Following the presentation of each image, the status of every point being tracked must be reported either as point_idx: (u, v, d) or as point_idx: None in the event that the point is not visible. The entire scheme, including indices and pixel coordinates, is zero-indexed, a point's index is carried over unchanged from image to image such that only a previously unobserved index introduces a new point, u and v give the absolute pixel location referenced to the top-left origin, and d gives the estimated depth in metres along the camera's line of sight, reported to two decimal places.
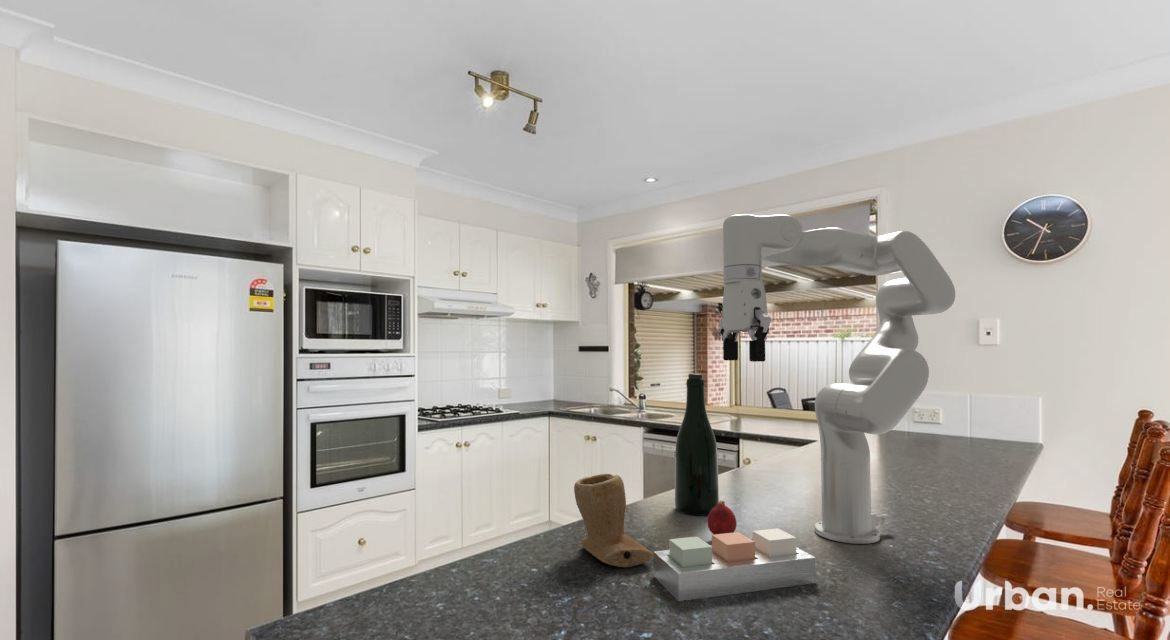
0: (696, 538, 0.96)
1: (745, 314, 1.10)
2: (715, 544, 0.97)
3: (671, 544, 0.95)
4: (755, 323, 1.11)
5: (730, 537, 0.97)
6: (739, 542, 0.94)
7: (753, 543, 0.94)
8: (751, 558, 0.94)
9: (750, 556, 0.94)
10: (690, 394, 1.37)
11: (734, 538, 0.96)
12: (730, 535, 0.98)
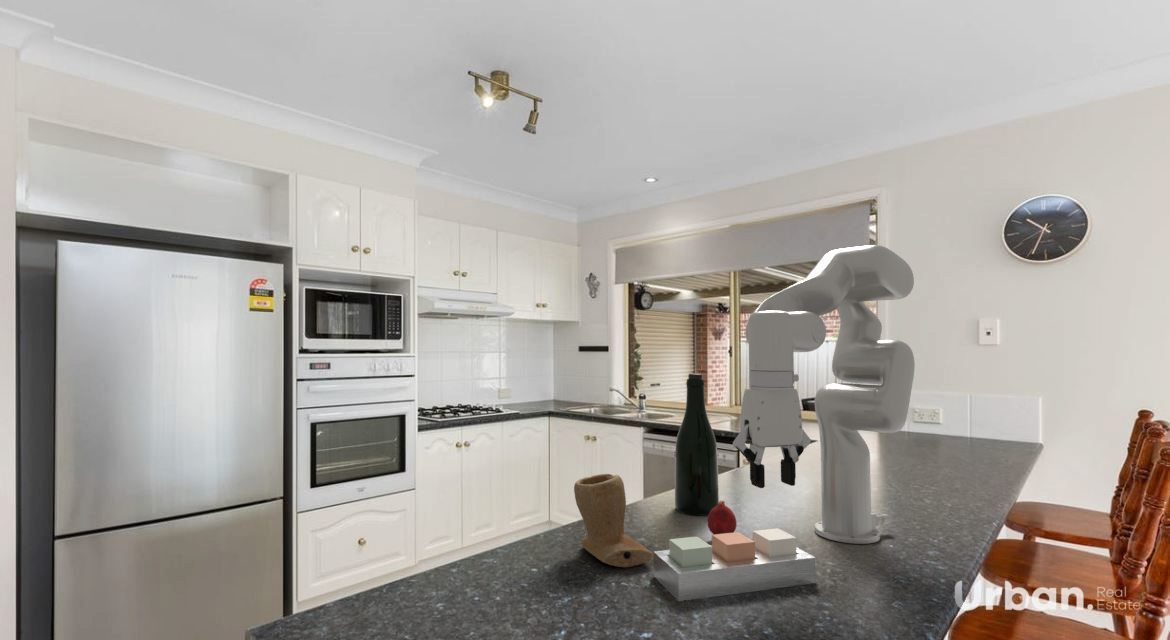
0: (696, 538, 0.96)
1: (800, 427, 0.98)
2: (715, 544, 0.97)
3: (671, 544, 0.95)
4: None
5: (730, 537, 0.97)
6: (739, 542, 0.94)
7: (753, 543, 0.94)
8: (751, 558, 0.94)
9: (750, 556, 0.94)
10: (690, 394, 1.37)
11: (734, 538, 0.96)
12: (730, 535, 0.98)
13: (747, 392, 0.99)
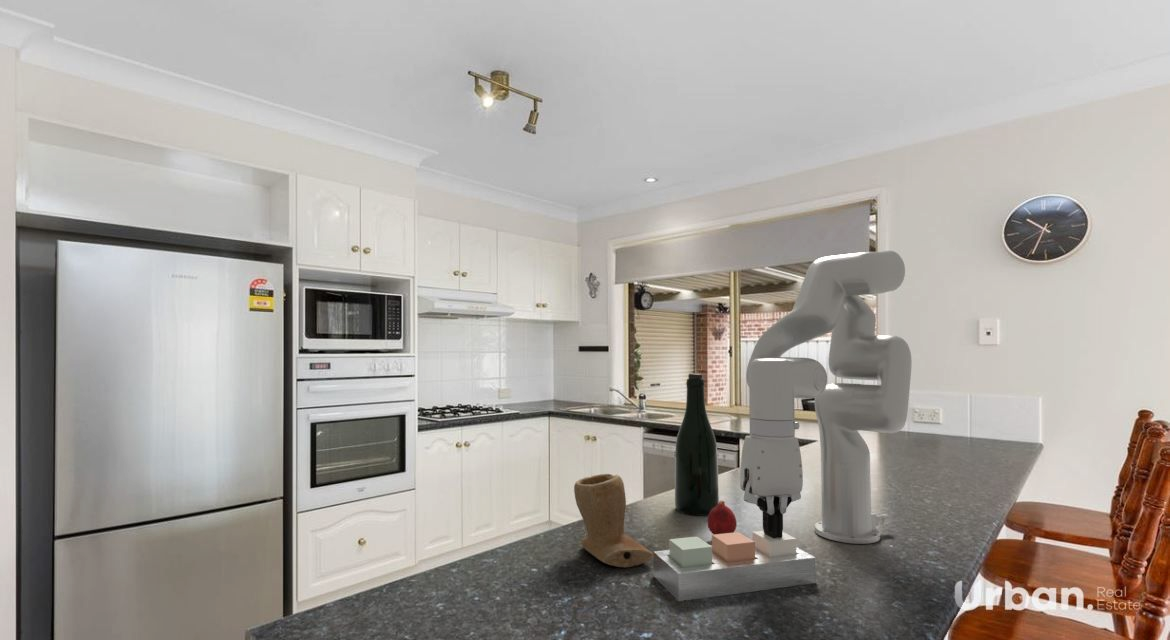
0: (696, 538, 0.96)
1: (800, 476, 0.98)
2: (715, 544, 0.97)
3: (671, 544, 0.95)
4: None
5: (730, 537, 0.97)
6: (739, 542, 0.94)
7: (753, 543, 0.94)
8: (751, 558, 0.94)
9: (750, 556, 0.94)
10: (690, 394, 1.37)
11: (734, 538, 0.96)
12: (730, 535, 0.98)
13: (748, 440, 0.98)
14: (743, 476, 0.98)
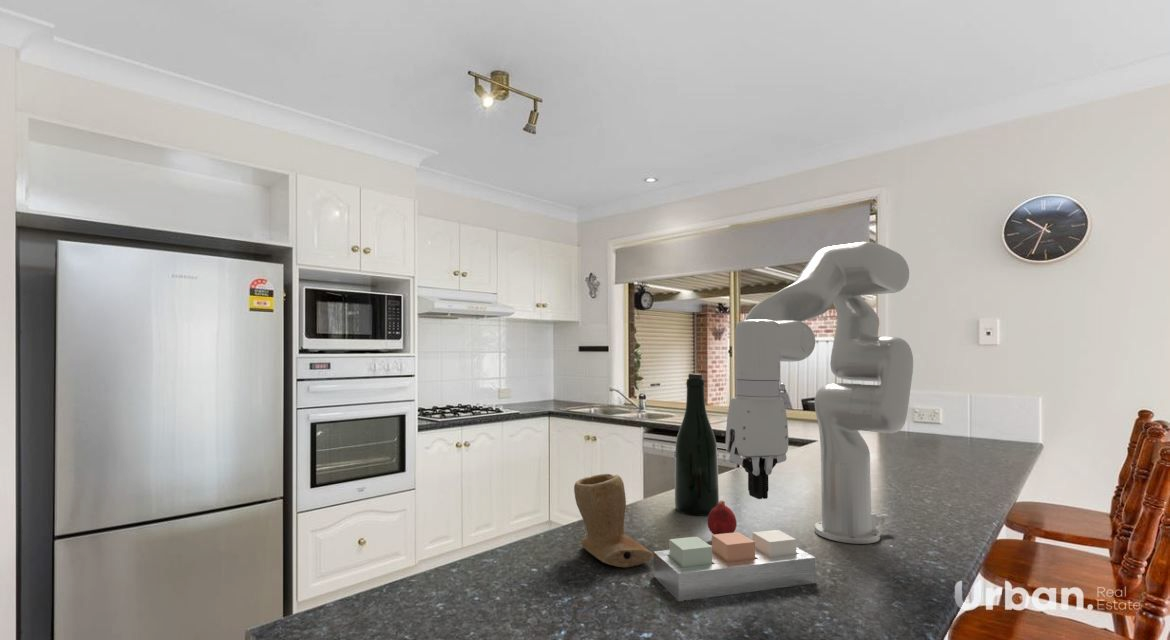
0: (696, 538, 0.96)
1: (786, 437, 0.97)
2: (715, 544, 0.97)
3: (671, 544, 0.95)
4: None
5: (730, 537, 0.97)
6: (739, 542, 0.94)
7: (753, 543, 0.94)
8: (751, 558, 0.94)
9: (750, 556, 0.94)
10: (690, 394, 1.37)
11: (734, 538, 0.96)
12: (730, 535, 0.98)
13: (733, 401, 0.98)
14: (729, 437, 0.98)
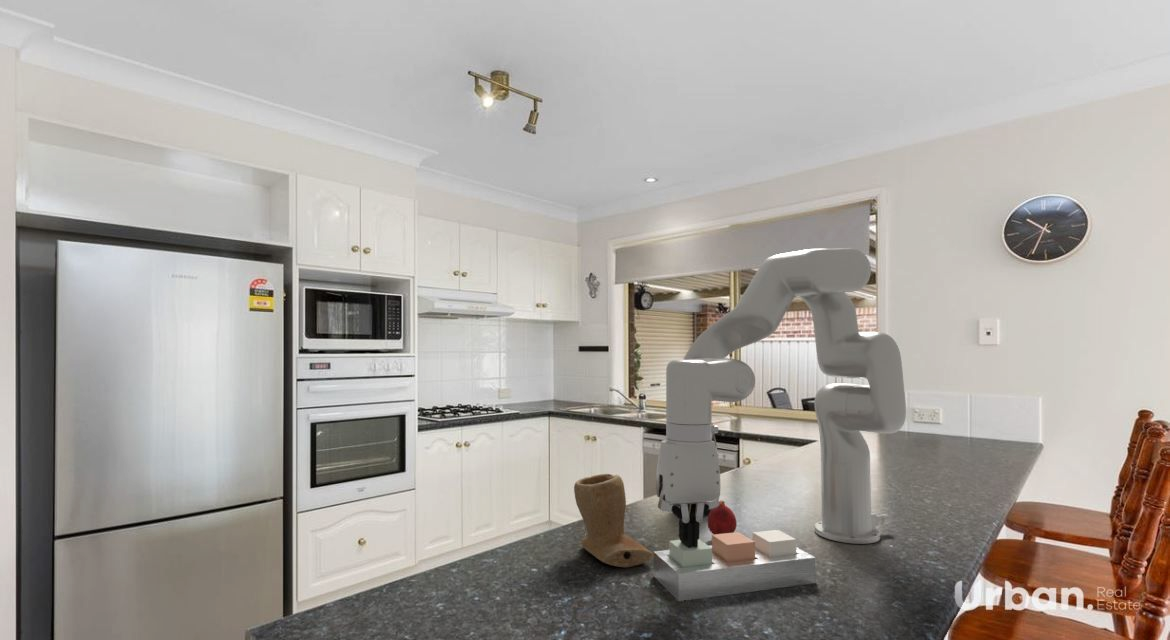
0: None
1: (717, 483, 0.94)
2: (715, 544, 0.97)
3: (671, 545, 0.95)
4: None
5: (730, 537, 0.97)
6: (739, 542, 0.94)
7: (753, 543, 0.94)
8: (751, 558, 0.94)
9: (750, 556, 0.94)
10: None
11: (734, 538, 0.96)
12: (730, 535, 0.98)
13: (663, 445, 0.94)
14: (658, 483, 0.94)
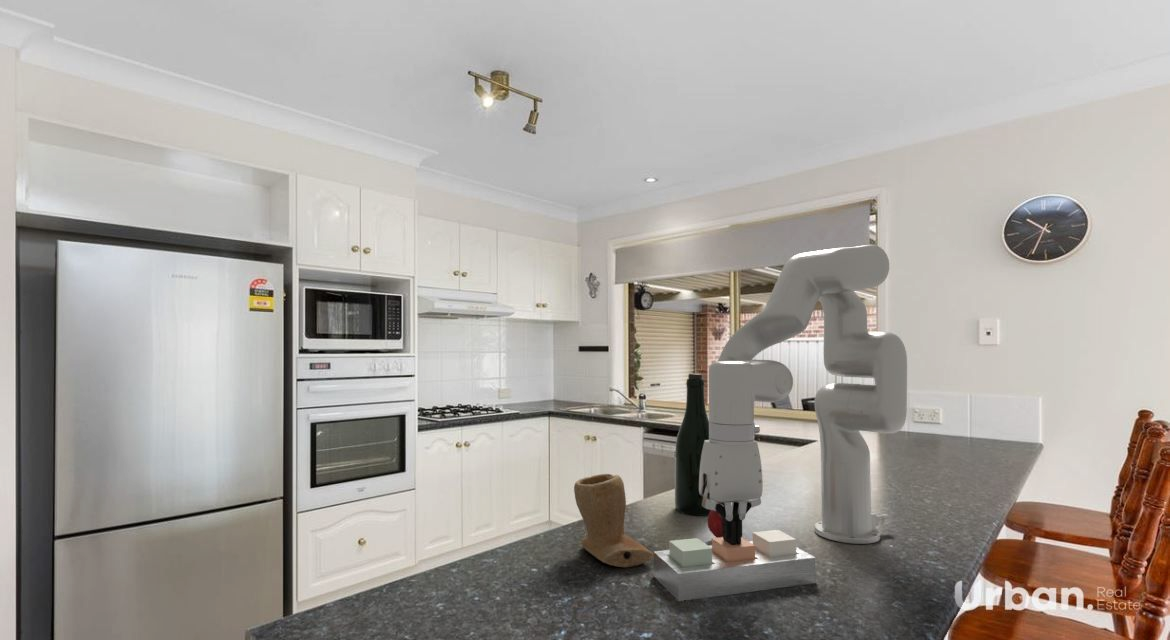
0: (696, 539, 0.96)
1: (760, 481, 0.96)
2: (715, 548, 0.97)
3: (671, 545, 0.95)
4: None
5: None
6: (739, 546, 0.94)
7: (753, 547, 0.94)
8: None
9: None
10: (690, 394, 1.37)
11: None
12: None
13: (706, 445, 0.96)
14: (701, 481, 0.96)
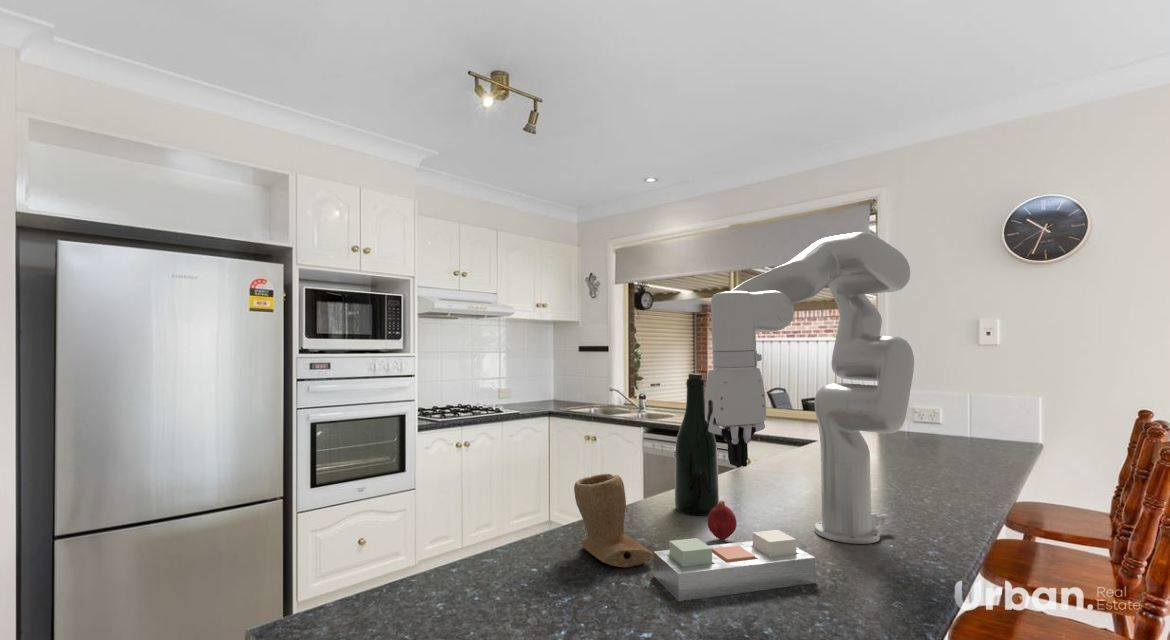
0: (696, 539, 0.96)
1: (763, 406, 0.99)
2: None
3: (671, 545, 0.95)
4: None
5: (730, 551, 0.96)
6: (739, 556, 0.94)
7: (753, 557, 0.94)
8: None
9: None
10: (690, 394, 1.37)
11: (734, 552, 0.96)
12: (730, 548, 0.98)
13: (711, 373, 0.99)
14: (707, 408, 1.00)
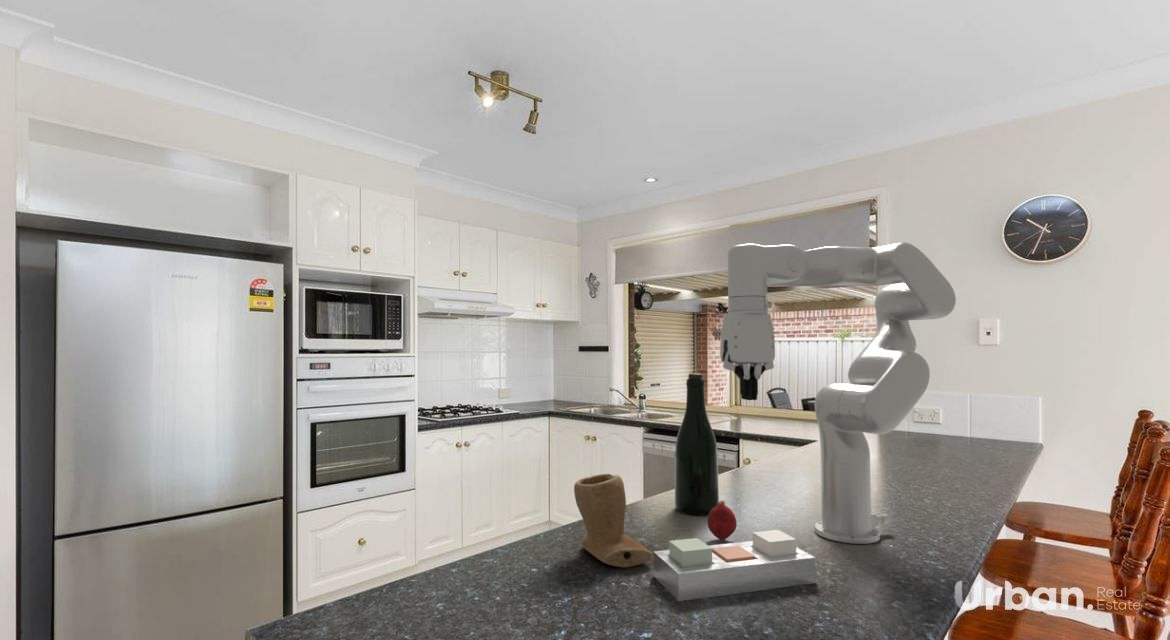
0: (696, 539, 0.96)
1: (773, 347, 1.11)
2: None
3: (671, 545, 0.95)
4: None
5: (730, 551, 0.96)
6: (739, 556, 0.94)
7: (753, 557, 0.94)
8: None
9: None
10: (690, 394, 1.37)
11: (734, 552, 0.96)
12: (730, 548, 0.98)
13: (726, 316, 1.12)
14: (722, 348, 1.12)
